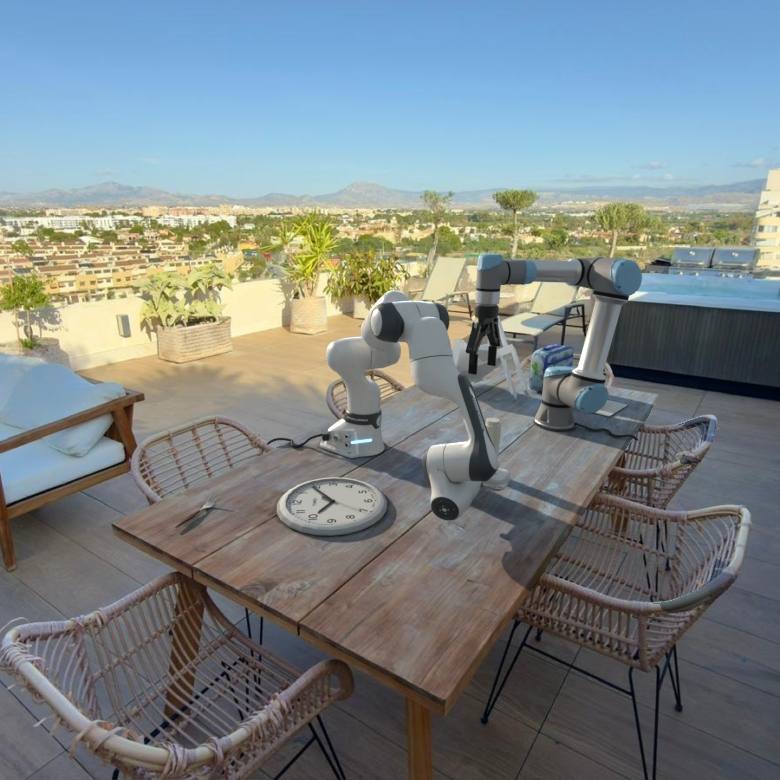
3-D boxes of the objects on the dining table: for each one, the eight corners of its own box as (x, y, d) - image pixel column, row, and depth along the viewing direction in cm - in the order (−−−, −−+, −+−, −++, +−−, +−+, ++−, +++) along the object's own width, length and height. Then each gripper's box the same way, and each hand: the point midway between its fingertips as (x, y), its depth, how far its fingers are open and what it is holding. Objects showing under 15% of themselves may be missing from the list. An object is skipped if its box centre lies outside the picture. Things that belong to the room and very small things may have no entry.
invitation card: (608, 416, 214) (573, 407, 224) (608, 416, 214) (573, 408, 224) (628, 404, 229) (594, 396, 238) (628, 405, 229) (594, 397, 238)
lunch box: (545, 397, 238) (550, 352, 231) (524, 391, 245) (529, 348, 239) (572, 386, 255) (578, 344, 249) (552, 381, 262) (557, 340, 256)
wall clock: (392, 527, 129) (268, 531, 127) (391, 533, 130) (269, 537, 127) (383, 473, 158) (282, 475, 155) (383, 478, 158) (282, 480, 156)
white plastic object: (461, 429, 252) (437, 405, 227) (444, 352, 274) (420, 323, 250) (535, 404, 240) (518, 377, 215) (510, 326, 262) (492, 293, 237)
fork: (171, 528, 130) (170, 521, 130) (212, 499, 145) (211, 492, 144) (179, 530, 129) (178, 523, 129) (220, 500, 144) (219, 494, 143)
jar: (492, 479, 159) (497, 423, 153) (477, 475, 161) (482, 420, 156) (499, 474, 163) (503, 419, 157) (484, 469, 165) (488, 415, 160)
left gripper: (504, 479, 133) (516, 459, 145) (429, 463, 141) (446, 444, 153) (502, 501, 135) (514, 479, 146) (428, 484, 143) (445, 464, 155)
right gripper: (493, 299, 176) (488, 360, 182) (456, 307, 157) (453, 375, 163) (514, 301, 172) (508, 363, 178) (479, 310, 153) (474, 379, 159)
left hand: (479, 461), depth 150 cm, fingers open, 8 cm apart
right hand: (482, 369), depth 171 cm, fingers open, 13 cm apart
